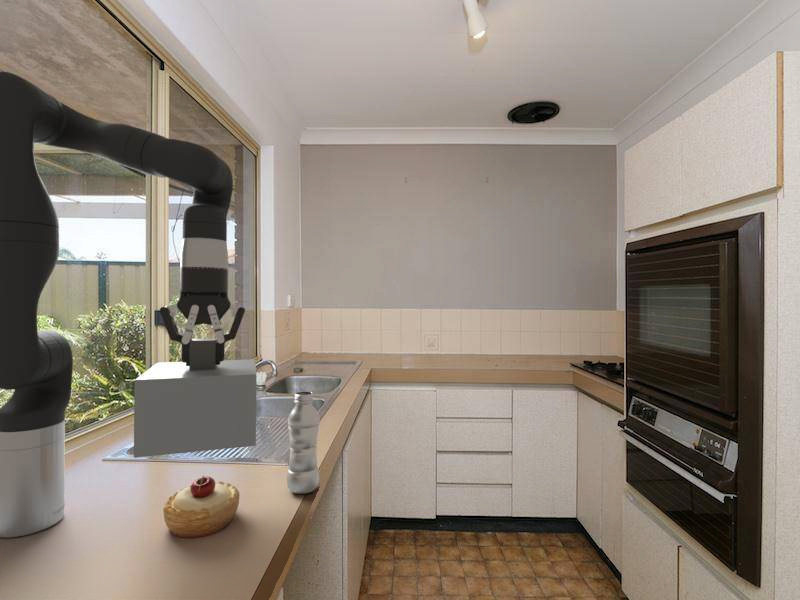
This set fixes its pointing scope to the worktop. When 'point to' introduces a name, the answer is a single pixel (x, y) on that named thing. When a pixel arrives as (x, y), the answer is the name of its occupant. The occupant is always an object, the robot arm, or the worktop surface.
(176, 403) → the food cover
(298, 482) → the plastic bottle
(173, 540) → the worktop surface
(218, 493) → the pastry
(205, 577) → the worktop surface
